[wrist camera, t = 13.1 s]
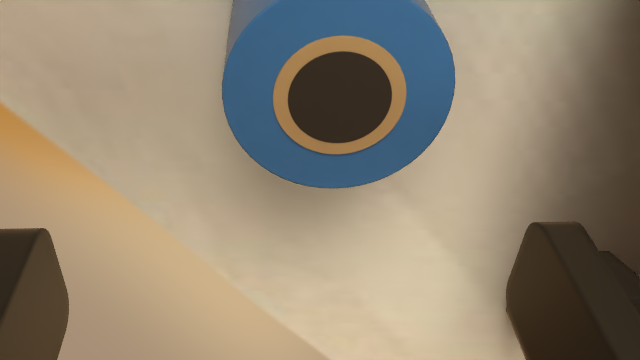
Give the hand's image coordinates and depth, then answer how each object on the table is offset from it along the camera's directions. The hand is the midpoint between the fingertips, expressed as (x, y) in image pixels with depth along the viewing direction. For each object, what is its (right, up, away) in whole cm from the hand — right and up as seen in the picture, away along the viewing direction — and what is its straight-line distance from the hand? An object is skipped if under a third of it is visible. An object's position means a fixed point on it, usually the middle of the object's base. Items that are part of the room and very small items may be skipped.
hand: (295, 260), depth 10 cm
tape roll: (+1, +6, +8) cm, 10 cm away
